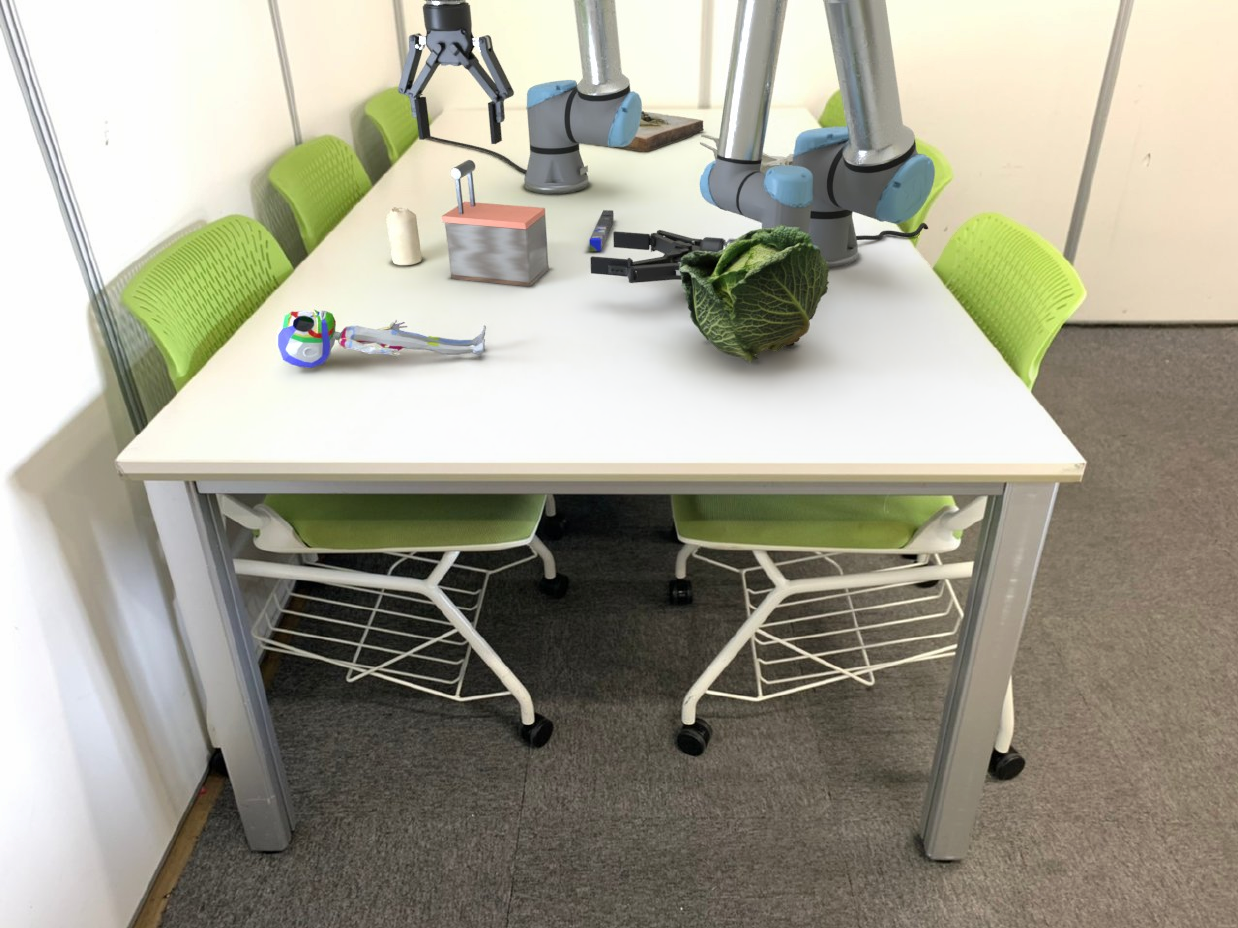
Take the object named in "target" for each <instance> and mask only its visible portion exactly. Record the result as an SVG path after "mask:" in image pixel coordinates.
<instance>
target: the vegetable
mask: <svg viewBox="0 0 1238 928" xmlns="http://www.w3.org/2000/svg"><path fill="white" fill-rule="evenodd" d="M735 239H736V240H735V241H734V242H733V243H730V244H728V245H727V247H726V248H725V249H723V250H720V251H718V252H711V251H698V250H697V251H694V252H691V253H688V254H687V255H684V256H683V257H682V258H681V263H680V266H679V271H680V274H681V279H682V280H681V286H682V289H683V290H684V291H685V292H686V293H685V301H686V304H687V310H688V311H689V312H690V313H689V314H690V315H689V318H690V319H691V322H692V324H693V325H694V326H695V327H697V329H698V330H699V332H700V333H701V335H702V336H703V337H704V338H705V339H706V340H707V341H710V342H711V344H712V345H713V347H715V348H717V349H718V350H720V351H721V352H722V353H724V354H726V355H729V356H732V357H737V358H741V359H744V360H746V361H747V362H748V363H749V364H751V363H752V360H759V358H758V357H757V356H756V355H759V354H761V353H762V352H763V351H765V350H769V351H773V352H780V350H781V349H782V348H785V347H792V346H793V347H794V346H795V344H796V343H799V341H800V340H801V337H803V336H805V335H806V334H807V333H808V331H809V329H810V324H811V322H810V321H811V320H813V318H814V316H815V314H816V312H817V310H818V305H819V303H820V301H821V299H822V297H824V296H825V295H826V294H827V292H828V290H829V289H828V285H829V283H830V281H828V277H829V272H830V268H828V267H827V263H826V260H825V259H824V258H823V257H822V255H821V251H820V250H819V249H818V247H815V248H814V247H813V245H812V240H811V237H810V236H809V234H806V233H804V232H802V231H800V228H799V227H786V226H785V225H784V226H783V225H779V226H777V227H776V228H762V227H761V228H757V229H754V230H753V229H752V230H750V231H747V232H746V233H745V234H742V235H741V236H739V237H737V238H735Z"/></svg>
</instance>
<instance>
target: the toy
mask: <svg viewBox="0 0 1238 928" xmlns="http://www.w3.org/2000/svg"><path fill="white" fill-rule="evenodd" d="M336 321H337V320H336V319H335V317H334V314H333V313H331V312H329V311H327V310H322V309H321V310H320V311H318V310H316V309H313V311H307V310H300V311H290V312H288V313H287V314H285V315H284V317H283V320H282V321H281V325H280V327H279V329H278V331H277V333H276V347H277V349H278V350H279V353H280V356H281V358H282V360H283V361H284V362H286V363H288V364H290V365H292V366H297V367H300V368H307V369H313V368H315V367H317V366H320V365H322V364H324V363H325V362H326V361H327V359H328V358H329V357H330V355H331V353H332V348H334V345H335V342H336V341H337V342H338V344H339V347H341V348H343V349H348V350H354V351H358V352H363V353H364V354H367V355H368V354H369V355H378V354H385V355H391V356H395V357H398V358H400V355H402V354H401V353H400V351H401V350H403V349H404V350H405V349H406V350H417V351H418V350H421V351H422V350H423V351H429V352H433V353H437V354H440V355H444V356H448V355H449V356H451V355H452V356H454V355H455V356H456V355H465V354H474V355H476V356H479V357H482V355H483V353H484V351H485V347H486V346H485V345H486V339H485V336H486V329H487V326H486V325H483V327H482V331H481V333H480V334H478V335H477V336H476V337H474V338H473V339H455V338H445V337H440V336H429V335H428V336H427V335H424V334H420V333H417V332H416V333H415V332H410V331H405V330H401V329H403V328H408V326H407V325H403V324H405V323H406V322H405V321H402V322H399V323H397V322H398V320H397V319H395V320H394V321H393V322H391V323H390V325H389V326H386V327H381V328H377V329H376V328H370V327H364V326H359V325H349V326H345V327H344V328H343V329H342V330H341V332H340V331H336V326H337V325H336V323H337V322H336ZM370 344H376V345H379V346H380V347H378V346H373V345H370Z"/></svg>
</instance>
